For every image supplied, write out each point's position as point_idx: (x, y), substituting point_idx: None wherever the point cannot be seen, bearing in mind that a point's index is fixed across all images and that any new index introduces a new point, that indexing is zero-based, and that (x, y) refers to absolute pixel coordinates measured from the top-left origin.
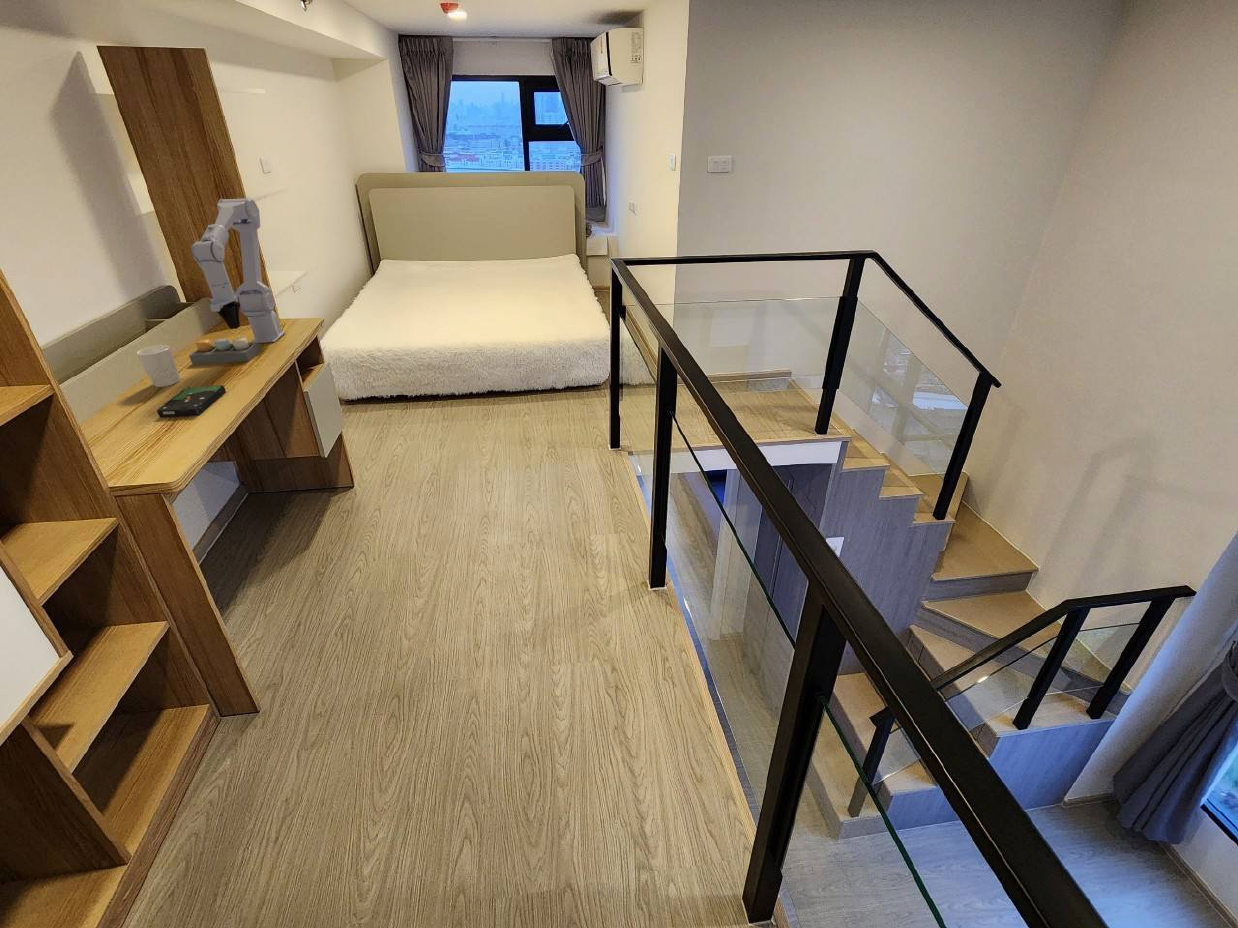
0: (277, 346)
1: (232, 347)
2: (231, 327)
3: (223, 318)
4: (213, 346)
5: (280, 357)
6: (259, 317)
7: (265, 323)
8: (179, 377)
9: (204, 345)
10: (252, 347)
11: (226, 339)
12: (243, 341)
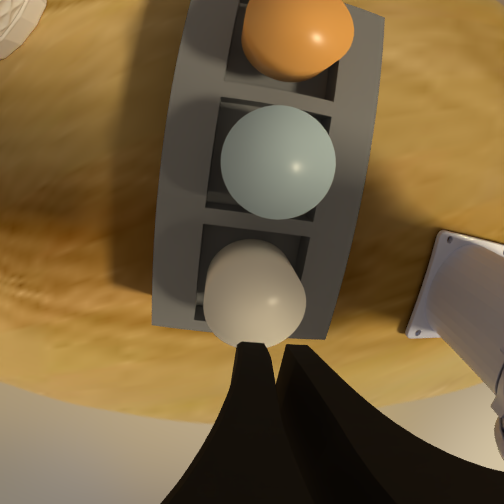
0: (348, 359)
1: None
2: (234, 368)
3: (209, 435)
4: (340, 75)
5: (192, 404)
6: (495, 372)
7: (471, 363)
8: (3, 53)
9: (249, 39)
10: None
11: (299, 200)
12: (222, 336)
